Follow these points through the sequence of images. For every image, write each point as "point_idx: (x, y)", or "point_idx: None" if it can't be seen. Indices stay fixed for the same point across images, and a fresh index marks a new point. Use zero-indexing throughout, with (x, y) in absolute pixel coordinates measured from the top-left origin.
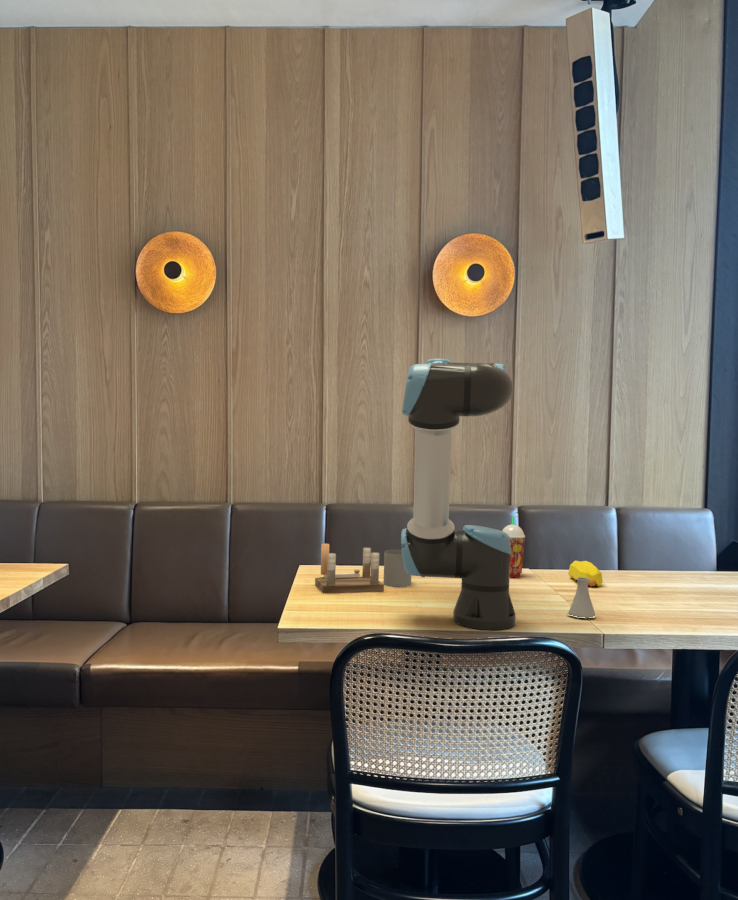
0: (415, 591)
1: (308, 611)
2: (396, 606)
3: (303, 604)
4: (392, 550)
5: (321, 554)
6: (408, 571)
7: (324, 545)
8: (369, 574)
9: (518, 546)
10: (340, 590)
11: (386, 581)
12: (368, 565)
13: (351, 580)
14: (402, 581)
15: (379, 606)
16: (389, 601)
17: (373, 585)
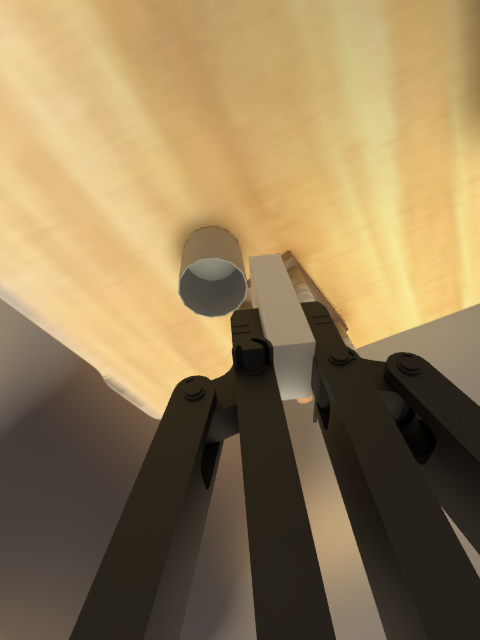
0: (256, 195)
1: (464, 289)
2: (405, 179)
3: (422, 313)
4: (192, 309)
5: None
6: None
7: (311, 395)
8: (247, 305)
9: None
10: (332, 307)
11: (236, 270)
12: None
13: None
14: (233, 240)
15: (411, 209)
16: (366, 208)
17: (303, 271)
